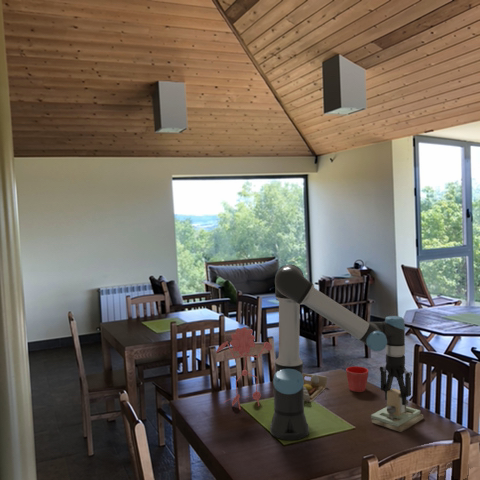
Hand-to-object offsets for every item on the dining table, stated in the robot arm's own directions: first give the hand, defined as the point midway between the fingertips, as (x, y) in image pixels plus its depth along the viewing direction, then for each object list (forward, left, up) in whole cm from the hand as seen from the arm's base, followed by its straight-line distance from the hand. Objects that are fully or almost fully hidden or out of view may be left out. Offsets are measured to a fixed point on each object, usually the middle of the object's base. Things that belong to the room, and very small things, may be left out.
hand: (395, 410), depth 202 cm
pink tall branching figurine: (-59, -31, -4) cm, 66 cm away
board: (+1, 0, -4) cm, 4 cm away
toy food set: (-49, -3, -5) cm, 49 cm away
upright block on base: (0, 0, -2) cm, 2 cm away
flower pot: (-32, +19, -4) cm, 37 cm away
